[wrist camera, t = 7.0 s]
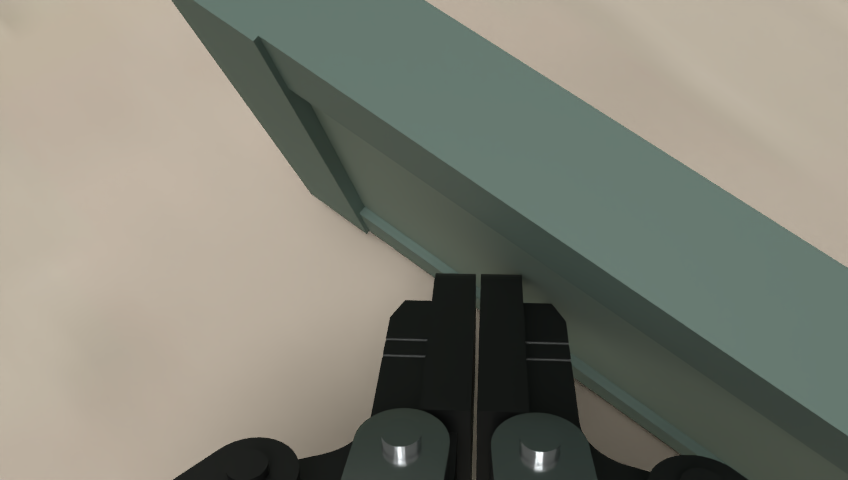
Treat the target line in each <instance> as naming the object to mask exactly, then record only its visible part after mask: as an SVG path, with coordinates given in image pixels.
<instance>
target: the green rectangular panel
mask: <svg viewBox="0 0 848 480" xmlns="http://www.w3.org/2000/svg"><path fill="white" fill-rule="evenodd" d="M172 2H173V3H174V4H175V6H176V7H177V9H178V10H179V11H180V13H181V14H182V15H183V17H184V18H185V20H186V21H187V22H188V24H189V25H190V27H191V28H192V29H193V31H194V32H195V33H196V35H197V36H198V38H199V39H200V40H201V42H202V43H203V45H204V46H205V47H206V49H207V50H208V51H209V53H210V54H211V56H212V57H213V58H214V60H215V61H216V63H217V64H218V65H219V67H220V68H221V69H222V71H223V72H224V74H225V75H226V76H227V78H228V79H229V81H230V82H231V83H232V85H233V86H234V88H235V89H236V90H237V92H238V93H239V94H240V96H241V97H242V99H243V100H244V101H245V103H246V104H247V106H248V107H249V108H250V110H251V111H252V112H253V114H254V115H255V117H256V118H257V119H258V121H259V122H260V124H261V125H262V126H263V128H264V129H265V130H266V132H267V133H268V135H269V136H270V137H271V139H272V140H273V142H274V143H275V144H276V146H277V147H278V148H279V150H280V151H281V153H282V154H283V155H284V157H285V158H286V160H287V161H288V162H289V164H290V165H291V167H292V168H293V169H294V171H295V172H296V173H297V175H298V176H299V178H300V179H301V180H302V182H303V183H304V185H305V186H306V187H307V189H308V190H309V191H310V193H311V194H312V195H314V196H315V197H316V198H318V199H319V200H320V201H322V202H323V203H325V204H326V205H327V206H329V207H330V208H332V209H333V210H334V211H336V212H337V213H339V214H340V215H341V216H343V217H344V218H345V219H347V220H348V221H350V222H351V223H352V224H354V225H355V226H357V227H358V228H359V229H361V230H362V231H364V232H365V233H366V234H367V233H368V232H369V231H370V232H372V233H373V234H375V235H376V236H377V237H379V238H380V239H382V240H383V241H384V242H386V243H387V244H388V245H390V246H391V247H393V248H394V249H395V250H397V251H398V252H400V253H401V254H402V255H404V256H405V257H407V258H408V259H409V260H411V261H412V262H414V263H415V264H416V265H418V266H419V267H421V268H422V269H423V270H425V271H426V272H427V273H429V274H430V275H432V276H433V277H434V278H435V274H436V273H456V274H476V308H478V309H479V310H480V290H481V274H514V275H522V288H523V303H552V305H553V306H554V307H555V308H556V310H557V311H558V312H559V313H560V315H561V316H562V317H563V318H564V320H565V321H566V325H567V332H568V340H569V348H570V355H571V363H572V370H573V377H574V378H575V379H577V380H578V381H579V382H581V383H582V384H583V385H585V386H586V387H588V388H589V389H590V390H592V391H593V392H595V393H596V394H597V395H599V396H600V397H602V398H603V399H604V400H606V401H607V402H609V403H610V404H611V405H613V406H614V407H616V408H617V409H618V410H620V411H621V412H622V413H624V414H625V415H627V416H628V417H629V418H631V419H632V420H634V421H635V422H636V423H638V424H639V425H641V426H642V427H643V428H645V429H646V430H648V431H649V432H650V433H652V434H653V435H655V436H656V437H657V438H659V439H660V440H661V441H663V442H664V443H666V444H667V445H668V446H670V447H671V448H673V449H674V450H675V451H677V452H678V453H680V454H681V455H697V456H703V457H707V458H711V459H714V460H717V461H720V462H722V463H724V464H726V465H728V466H729V467H731V468H732V469H734V470H735V471H737V472H738V473H740V474H741V475H742V476H744V477H745V478H746V479H748V480H848V268H847V267H845V266H844V265H842V264H841V263H839V262H837V261H836V260H834V259H833V258H831V257H829V256H828V255H826V254H825V253H823V252H822V251H820V250H818V249H817V248H815V247H814V246H812V245H811V244H809V243H807V242H806V241H804V240H803V239H801V238H799V237H798V236H796V235H795V234H793V233H792V232H790V231H788V230H787V229H785V228H784V227H782V226H780V225H779V224H777V223H776V222H774V221H773V220H771V219H769V218H768V217H766V216H765V215H763V214H761V213H760V212H758V211H757V210H755V209H754V208H752V207H750V206H749V205H747V204H746V203H744V202H743V201H741V200H739V199H738V198H736V197H735V196H733V195H731V194H730V193H728V192H727V191H725V190H724V189H722V188H720V187H719V186H717V185H716V184H714V183H712V182H711V181H709V180H708V179H706V178H705V177H703V176H701V175H700V174H698V173H697V172H695V171H693V170H692V169H690V168H689V167H687V166H686V165H684V164H682V163H681V162H679V161H678V160H676V159H675V158H673V157H671V156H670V155H668V154H667V153H665V152H663V151H662V150H660V149H659V148H657V147H656V146H654V145H652V144H651V143H649V142H648V141H646V140H644V139H643V138H641V137H640V136H638V135H637V134H635V133H633V132H632V131H630V130H629V129H627V128H625V127H624V126H622V125H621V124H619V123H618V122H616V121H614V120H613V119H611V118H610V117H608V116H606V115H605V114H603V113H602V112H600V111H599V110H597V109H595V108H594V107H592V106H591V105H589V104H588V103H586V102H584V101H583V100H581V99H580V98H578V97H576V96H575V95H573V94H572V93H570V92H569V91H567V90H565V89H564V88H562V87H561V86H559V85H557V84H556V83H554V82H553V81H551V80H550V79H548V78H546V77H545V76H543V75H542V74H540V73H538V72H537V71H535V70H534V69H532V68H531V67H529V66H527V65H526V64H524V63H523V62H521V61H520V60H518V59H516V58H515V57H513V56H512V55H510V54H508V53H507V52H505V51H504V50H502V49H501V48H499V47H497V46H496V45H494V44H493V43H491V42H489V41H488V40H486V39H485V38H483V37H482V36H480V35H478V34H477V33H475V32H474V31H472V30H470V29H469V28H467V27H466V26H464V25H463V24H461V23H459V22H458V21H456V20H455V19H453V18H452V17H450V16H448V15H447V14H445V13H444V12H442V11H440V10H439V9H437V8H436V7H434V6H433V5H431V4H429V3H428V2H426V1H425V0H172Z"/></svg>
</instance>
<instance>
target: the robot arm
mask: <svg viewBox="0 0 848 480" xmlns="http://www.w3.org/2000/svg"><path fill="white" fill-rule="evenodd" d="M475 343H476V274H456V273H436V274H435V280H434V289H433V297H432V301H412V300H405V301H404V302H403V303H402V305H401V306H400V307H399V308H398V309H397V310H396V311H395V312H394V314H393V315H392V316H391V317H390V321H389V326H388V331H387V336H386V341H385V347H384V352H383V357H382V362H381V367H380V372H379V378H378V383H377V388H376V393H375V398H374V404H373V409H372V414H371V417H370V418H369V419H368V420H366V421H365V422H364V423H363V424H362V425H361V426H360V427H359V429H358V430H357V432H356V434H355V436H354V439H353V441H352V442H351V443H350V444H348V445H346V446H344V447H342V448H340V449H338V450H335V451H333V452H329V453H326V454H322V455H317V456H312V457H308V458H303V459H299V460H298V459H297V456H296V454H295V453H294V452H293V450H292V449H291V448H290V447H289V446H287V445H286V444H284V443H282V442H280V441H277V440H274V439H270V438H261V437H258V438H247V439H242V440H239V441H235V442H233V443H230V444H228V445H226V446H224V447H222V448H221V449H219V450H217V451H216V452H214V453H213V454H211V455H210V456H208V457H207V458H205V459H204V460H202V461H201V462H199V463H198V464H196V465H195V466H193V467H192V468H190V469H189V470H187V471H185V472H184V473H182V474H181V475H179V476H178V477H176V478H175V479H173V480H472V450H473V419H474V388H475ZM476 480H748V479H746V478H745V477H744V476H742V475H741V474H740V473H738V472H737V471H735V470H734V469H732V468H731V467H729V466H728V465H726V464H724V463H722V462H720V461H717V460H714V459H711V458H707V457H703V456H697V455H679V456H674V457H670V458H667V459H665V460H663V461H661V462H660V463H658V464H657V465H656V466H655V467H654V468H653V469H652V471H651V472H648V471H644V470H641V469H637V468H634V467H631V466H627V465H624V464H621V463H618V462H616V461H614V460H612V459H610V458H608V457H606V456H605V455H603V454H601V453H600V452H599V451H597V450H596V449H595V448H594V447H593V446H592V445H591V444H590V443H589V442H588V441H587V439H586V437H585V435H584V434H583V432H582V430H581V427H580V423H579V416H578V409H577V401H576V393H575V386H574V378H573V370H572V363H571V355H570V348H569V340H568V332H567V325H566V321H565V320H564V318H563V317H562V316H561V315H560V313H559V312H558V311H557V310H556V308H555V307H554V306H553V305H552V303H523V288H522V275H514V274H481V290H480V327H479V364H478V400H477V474H476Z"/></svg>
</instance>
